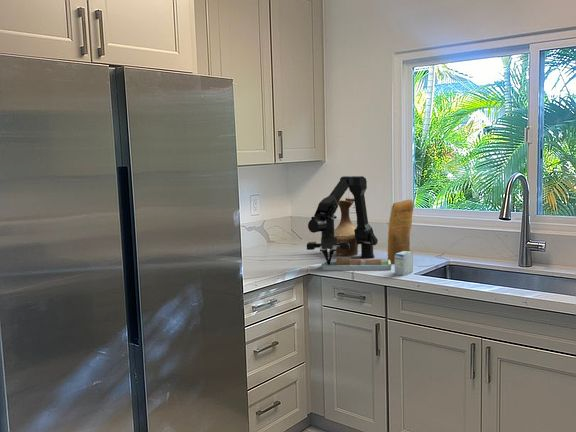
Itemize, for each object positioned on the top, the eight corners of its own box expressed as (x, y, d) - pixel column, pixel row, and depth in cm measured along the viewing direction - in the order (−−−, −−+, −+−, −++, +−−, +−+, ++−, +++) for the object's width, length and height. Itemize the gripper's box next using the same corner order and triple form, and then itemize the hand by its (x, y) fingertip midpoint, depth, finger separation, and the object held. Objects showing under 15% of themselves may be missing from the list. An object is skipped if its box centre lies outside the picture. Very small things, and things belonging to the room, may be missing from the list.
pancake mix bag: (419, 259, 268) (418, 199, 265) (393, 265, 255) (392, 202, 252) (407, 257, 273) (406, 198, 270) (381, 263, 260) (380, 202, 257)
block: (337, 267, 257) (336, 257, 257) (350, 267, 256) (350, 257, 256) (336, 269, 252) (336, 259, 252) (350, 269, 251) (349, 259, 251)
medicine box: (403, 271, 244) (403, 250, 243) (413, 272, 241) (413, 251, 240) (394, 274, 238) (394, 253, 237) (404, 275, 235) (403, 254, 234)
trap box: (323, 264, 264) (323, 258, 264) (389, 263, 260) (389, 258, 260) (321, 270, 251) (320, 264, 250) (391, 269, 247) (390, 264, 246)
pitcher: (364, 250, 295) (363, 196, 292) (365, 257, 278) (364, 199, 275) (329, 251, 296) (328, 197, 293) (329, 257, 280) (327, 200, 277)
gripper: (304, 232, 247) (305, 268, 248) (348, 232, 244) (349, 268, 246) (307, 229, 258) (308, 263, 259) (349, 228, 255) (350, 263, 257)
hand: (328, 264), depth 255 cm, fingers closed
